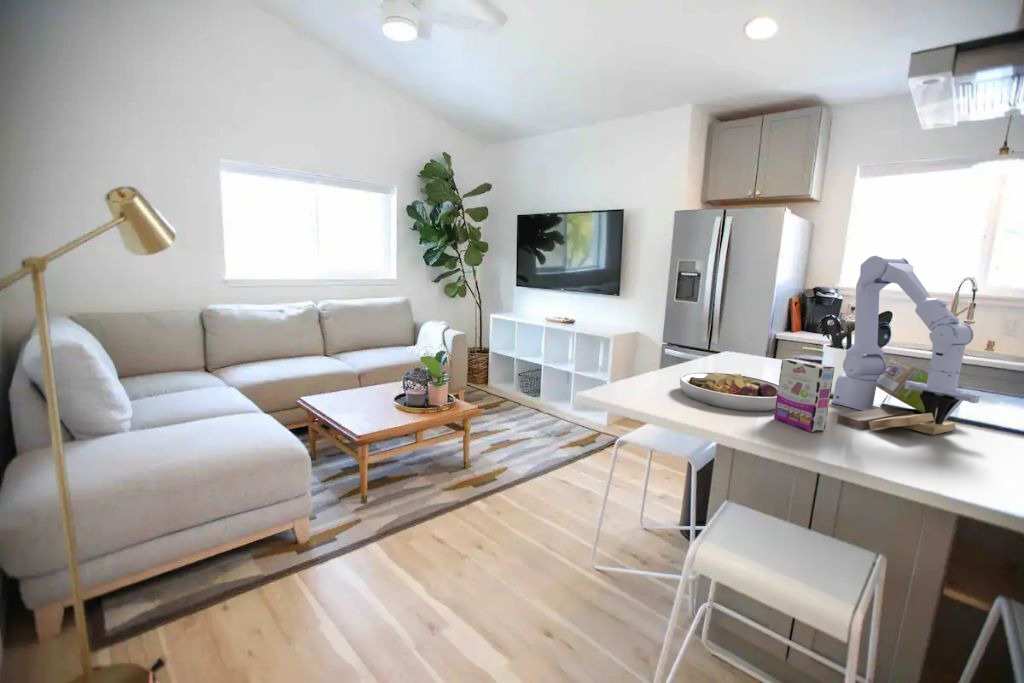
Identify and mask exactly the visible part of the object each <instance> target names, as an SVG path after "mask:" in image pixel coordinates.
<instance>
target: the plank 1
mask: <svg viewBox="0 0 1024 683" xmlns="http://www.w3.org/2000/svg"><path fill="white" fill-rule="evenodd" d="M915 414H916V415H907V416H899V417H890V418H885V419H880V420H874V421H869V425H870V428H869V429H870V430H874V429H876V430H877V429H885V428H896V427H899V426H907V425H914V424H919V423H924V422H929V421H934V418H933V415H932V413H925V414H924V413H915Z"/></svg>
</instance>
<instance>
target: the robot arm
mask: <svg viewBox="0 0 1024 683" xmlns="http://www.w3.org/2000/svg"><path fill="white" fill-rule="evenodd" d="M859 270H860V272H859V277H858V279H857V282H856V286H855V306H854V307H855V310H854V311H855V313H854V316H855V317H854V337H853V338H854V341H853V345H852V346H851V347H849V348H848V349H847V350H846V351H845V357H844V360H843V362H842V368H843V372H844V373H841V374H840V375H839V376H837V378H836V381H835V383H834V389H833V390H834V391H833V396H832V400H831V401H830V402H831V403H833V404H836V405H839V406H840V405H841V406H842V407H843V406H844V407H847V408H851V409H854V410H859V411H864V410H870V409H876V408H880V407H879V406H876V405H874V403H875V402H874V401H875V398H876V390H877V387H876V385H877V380H878V379H879V377H880V375H882V374H883V373H884V372H885V371H886V367H887V365H886V364H887V361H886V360H885V356H884V352H885V351H884V350H883V349H882V348H881V347H880V346H879V345H878V341H879V340H878V338H879V315H880V313H879V311H880V291H882V290H883V289H884V288H885V287H886V286H888V285H890V284H896V285H898V286H899V287H900V289H901V290H903V292H904V293H905V294H906V295H907V296H908V297H909V298H910V300H912V301H913V303H914V304H915V305H916V306H915V307H916V308H915V314H916V315H917V316H918V317H919V319H920V321H922V322H923V323H924V325H925V326H926V328H928V330H929V331H930V332H929V335H928V337H929V339H930V341H931V344H932V348H931V349H932V353H931V357H930V358H931V359H930V364H929V369H928V373H929V374H928V379H927V384H925V383H919V382H913V381H906V382H905V388H906V389H913V390H917V391H922V392H923V393H922V394H920V398H921V400H922V402H923V405H924V408H925V413H932V415H933V418H934V419H935V413H936V408H937V405H938V409H937V415H936V419H935V424H942V423H943V421H944V419H945V417H946V416H947V414H948V413H949V411H950V410H951V409H952V408H953V407H954V406H955V405H956V404H957V403H958V402H959V400H963V402H964V401H965V402H969V403H971V404H978V403H980V397H981V395H980V394H977V393H971V392H968V391H964V390H961V389H959V390H957V389H958V388H957V387H958V384H959V378H960V372H961V370H962V369H961V368H962V364H963V359H964V353H965V349H966V346H967V345H969V344H970V343H971V342H972V341H973V339H974V331H973V328H972V327H971V326H970V325H969V324H967V323H964V322H961V321H960V319H959V317H957V316H955V315H954V314H953V313H952V312H951V310H949V308H948V307H947V306H948V303H947V302H946V301H945V300H941V299H940V298H932V296H931V294H930V293H929V292H928V291H927V289H926V287H925V286H924V285H923V283H922V282H921V280H920V279H919V278H918V277H917V275H916V274H915V272H914V266H913V265H911V264H910V262H909V261H908V260H907V259H906V258H905V257H902V256H896V257H895V256H880V255H871V256H870V257H868V258H867V259H866V260H865V261H863V263H861V264H860V269H859ZM942 393H944V394H942ZM947 394H948V395H947ZM941 396H943V397H941ZM929 422H934V421H929Z"/></svg>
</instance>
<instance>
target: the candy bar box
mask: <svg viewBox="0 0 1024 683" xmlns="http://www.w3.org/2000/svg"><path fill="white" fill-rule="evenodd" d="M835 368H836V367H835V366H831V365H826V364H822V363H817V362H813V361H812V362H811V361H807V360H802V359H797V358H782V359H781V365H780V373H779V378H778V379H779V380H778V384H779V386H778V393H777V400H776V407H775V409H774V413H773V414H774V416H773V418H774V420H776V421H779V422H782V423H784V424H787V425H790V426H793V427H795V428H799V429H801V430H804V431H805V432H809V433H819V432H826V424H827V420H828V411H829V405H830V398H831V392H832V386H833V382H834V374H835Z"/></svg>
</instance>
